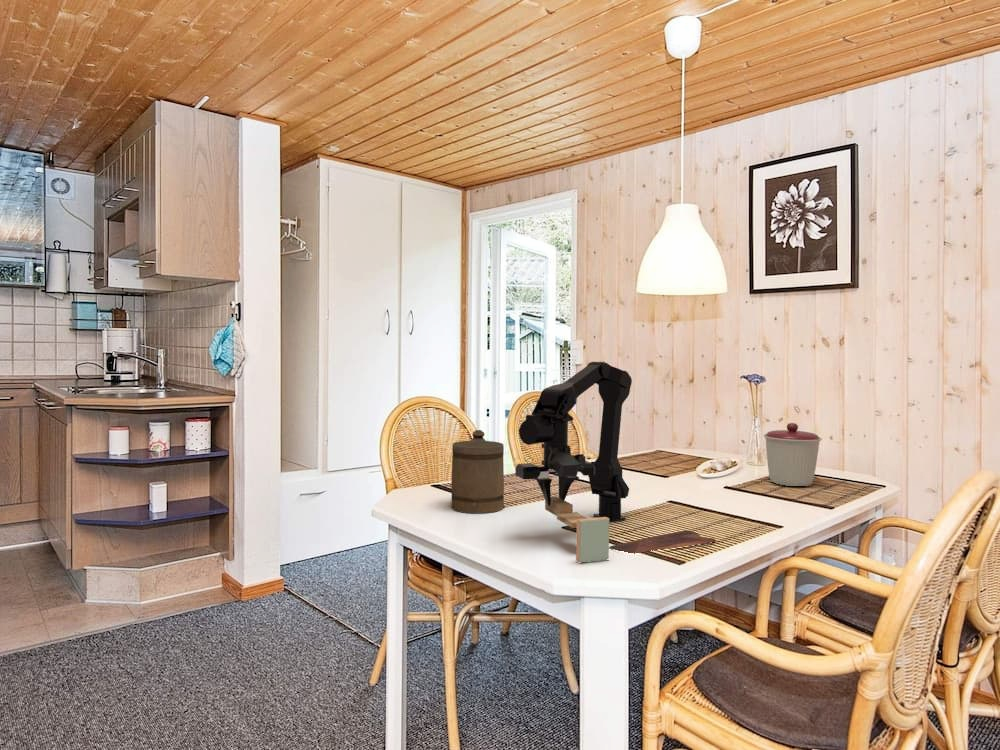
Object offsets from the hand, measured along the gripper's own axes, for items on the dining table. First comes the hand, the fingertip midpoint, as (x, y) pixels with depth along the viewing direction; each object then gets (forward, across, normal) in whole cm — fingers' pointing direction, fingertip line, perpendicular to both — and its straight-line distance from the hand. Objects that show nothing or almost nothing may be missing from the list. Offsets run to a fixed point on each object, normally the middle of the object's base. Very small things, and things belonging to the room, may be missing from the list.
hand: (555, 505), depth 155 cm
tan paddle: (+2, 0, -6) cm, 6 cm away
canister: (+8, +103, +32) cm, 108 cm away
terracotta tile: (+8, 0, -20) cm, 21 cm away
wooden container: (+8, -9, +32) cm, 35 cm away
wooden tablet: (+8, +21, -14) cm, 27 cm away
